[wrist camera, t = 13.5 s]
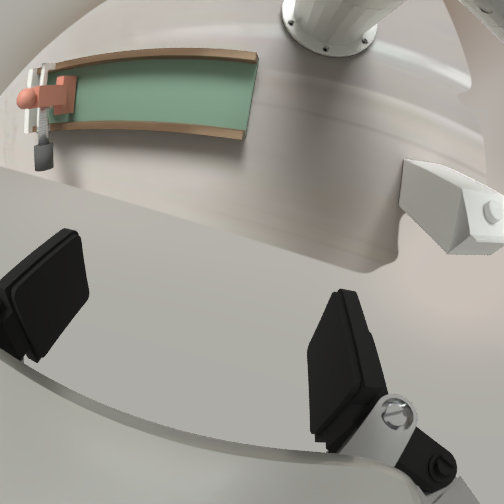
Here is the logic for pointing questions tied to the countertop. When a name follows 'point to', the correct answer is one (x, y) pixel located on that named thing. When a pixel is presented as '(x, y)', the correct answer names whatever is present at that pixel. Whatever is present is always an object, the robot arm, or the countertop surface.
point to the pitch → (160, 91)
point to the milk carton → (453, 208)
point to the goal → (34, 81)
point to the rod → (43, 99)
